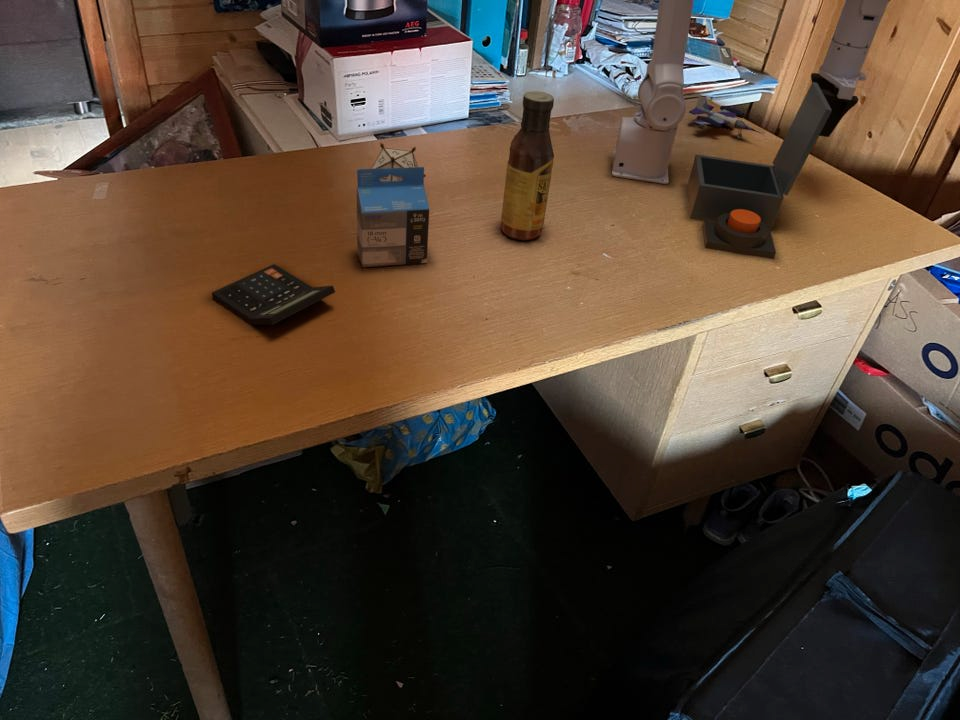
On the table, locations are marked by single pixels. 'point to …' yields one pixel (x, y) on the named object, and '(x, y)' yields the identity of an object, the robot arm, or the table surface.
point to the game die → (394, 161)
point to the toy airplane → (719, 117)
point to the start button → (744, 221)
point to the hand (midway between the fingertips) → (818, 127)
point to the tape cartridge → (392, 217)
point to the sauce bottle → (529, 170)
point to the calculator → (269, 296)
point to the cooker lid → (801, 137)
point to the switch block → (738, 238)
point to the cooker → (733, 189)
